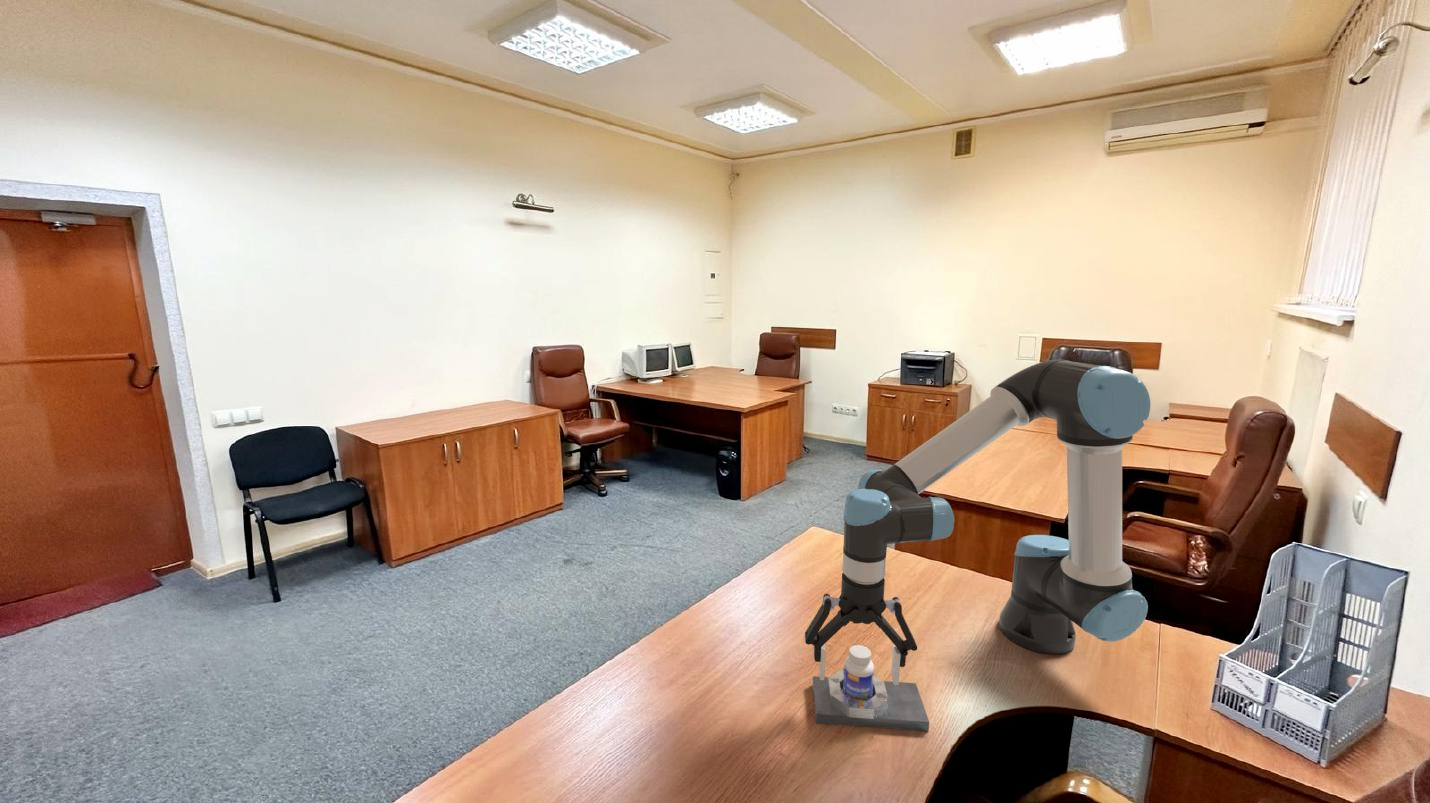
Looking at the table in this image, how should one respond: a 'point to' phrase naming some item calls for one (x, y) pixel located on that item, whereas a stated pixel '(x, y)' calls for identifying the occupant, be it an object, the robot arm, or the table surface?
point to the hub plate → (888, 719)
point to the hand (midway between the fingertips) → (858, 677)
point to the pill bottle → (858, 674)
